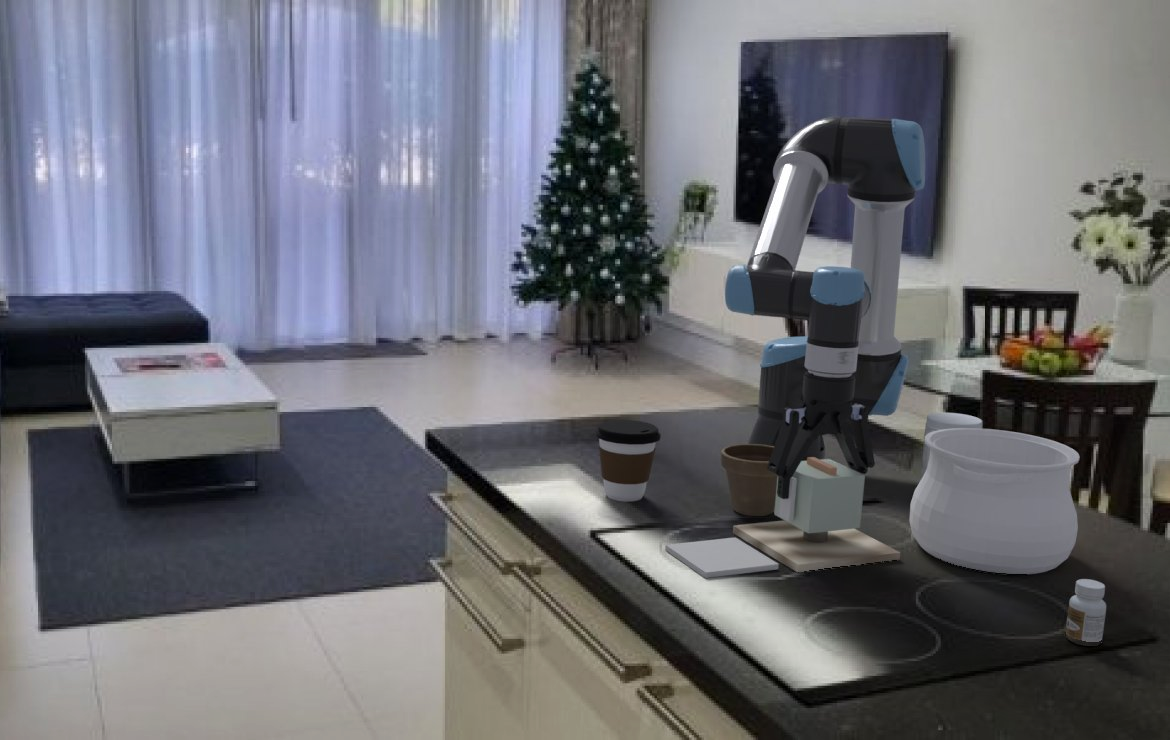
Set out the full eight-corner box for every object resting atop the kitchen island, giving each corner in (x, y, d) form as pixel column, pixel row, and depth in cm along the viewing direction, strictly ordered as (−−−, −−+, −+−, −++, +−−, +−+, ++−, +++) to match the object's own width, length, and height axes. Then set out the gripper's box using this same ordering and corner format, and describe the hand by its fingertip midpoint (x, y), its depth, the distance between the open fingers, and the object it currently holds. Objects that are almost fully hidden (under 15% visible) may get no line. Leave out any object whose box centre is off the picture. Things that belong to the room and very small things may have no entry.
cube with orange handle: (774, 514, 196) (779, 456, 194) (824, 509, 200) (829, 452, 198) (808, 533, 188) (813, 473, 186) (859, 527, 192) (865, 468, 190)
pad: (665, 549, 189) (665, 544, 189) (735, 542, 194) (735, 537, 194) (705, 577, 179) (705, 572, 179) (778, 569, 184) (778, 563, 184)
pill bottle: (1058, 633, 165) (1066, 577, 164) (1091, 634, 166) (1099, 577, 164) (1074, 647, 161) (1082, 589, 160) (1107, 648, 162) (1115, 590, 160)
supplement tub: (986, 504, 221) (996, 422, 218) (949, 511, 216) (959, 427, 213) (943, 489, 229) (952, 409, 226) (906, 496, 224) (914, 414, 221)
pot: (1051, 595, 179) (1066, 480, 176) (883, 557, 192) (894, 448, 188) (1088, 548, 200) (1102, 444, 197) (934, 516, 213) (945, 418, 210)
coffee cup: (670, 497, 215) (674, 428, 213) (627, 510, 207) (631, 438, 205) (621, 483, 223) (625, 415, 220) (578, 494, 215) (581, 424, 212)
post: (732, 532, 199) (738, 464, 197) (829, 522, 206) (835, 457, 204) (797, 572, 183) (804, 498, 181) (899, 560, 190) (906, 489, 188)
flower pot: (708, 515, 207) (713, 455, 205) (726, 496, 218) (730, 439, 216) (779, 526, 203) (784, 465, 201) (793, 507, 214) (798, 448, 212)
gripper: (778, 380, 181) (765, 529, 185) (908, 374, 191) (894, 516, 195) (750, 370, 188) (738, 514, 192) (877, 364, 197) (864, 502, 202)
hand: (817, 515), depth 194 cm, fingers open, 10 cm apart
